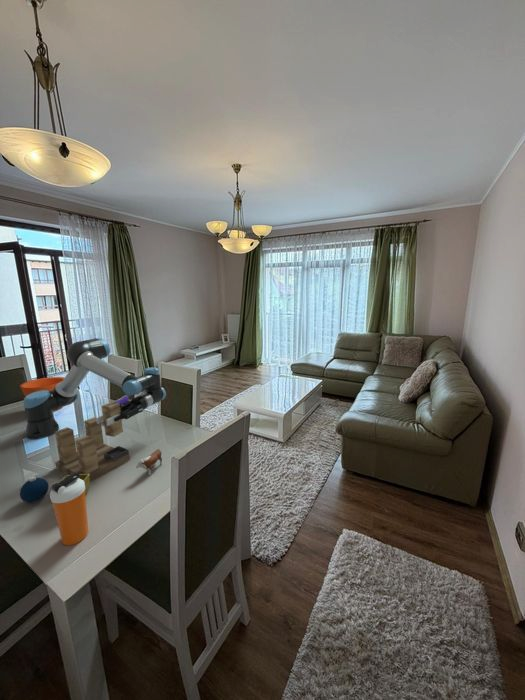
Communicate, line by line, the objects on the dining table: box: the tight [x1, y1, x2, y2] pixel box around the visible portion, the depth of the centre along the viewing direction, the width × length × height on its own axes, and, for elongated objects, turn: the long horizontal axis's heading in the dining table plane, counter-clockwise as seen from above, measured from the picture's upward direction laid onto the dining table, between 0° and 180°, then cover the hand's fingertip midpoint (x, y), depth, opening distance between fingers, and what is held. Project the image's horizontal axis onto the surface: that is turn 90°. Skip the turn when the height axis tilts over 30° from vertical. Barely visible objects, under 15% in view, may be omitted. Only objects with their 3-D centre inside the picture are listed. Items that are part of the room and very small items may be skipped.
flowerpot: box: [19, 376, 66, 413], centre depth 191 cm, size 25×25×20 cm
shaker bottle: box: [49, 474, 89, 546], centre depth 87 cm, size 9×9×20 cm
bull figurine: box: [135, 449, 163, 477], centre depth 122 cm, size 4×13×8 cm, turn 158°
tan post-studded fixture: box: [54, 416, 131, 484], centre depth 127 cm, size 24×20×17 cm
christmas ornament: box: [19, 475, 49, 503], centre depth 105 cm, size 8×8×10 cm
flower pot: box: [60, 474, 90, 498], centre depth 103 cm, size 9×9×9 cm
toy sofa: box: [101, 394, 132, 414], centre depth 181 cm, size 21×9×10 cm, turn 161°
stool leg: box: [101, 401, 124, 438], centre depth 126 cm, size 5×5×14 cm
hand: (102, 421), depth 121 cm, fingers closed on stool leg, 5 cm apart
